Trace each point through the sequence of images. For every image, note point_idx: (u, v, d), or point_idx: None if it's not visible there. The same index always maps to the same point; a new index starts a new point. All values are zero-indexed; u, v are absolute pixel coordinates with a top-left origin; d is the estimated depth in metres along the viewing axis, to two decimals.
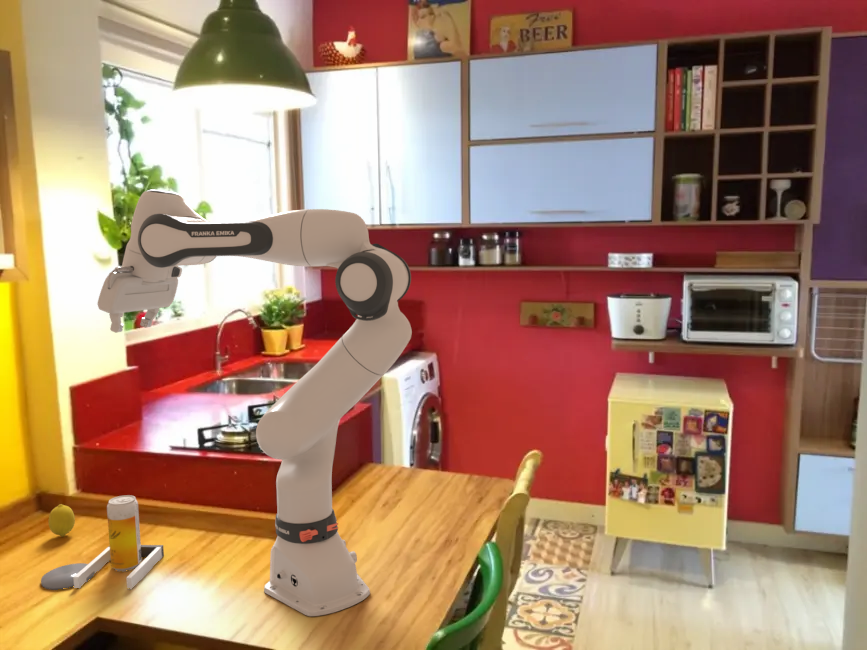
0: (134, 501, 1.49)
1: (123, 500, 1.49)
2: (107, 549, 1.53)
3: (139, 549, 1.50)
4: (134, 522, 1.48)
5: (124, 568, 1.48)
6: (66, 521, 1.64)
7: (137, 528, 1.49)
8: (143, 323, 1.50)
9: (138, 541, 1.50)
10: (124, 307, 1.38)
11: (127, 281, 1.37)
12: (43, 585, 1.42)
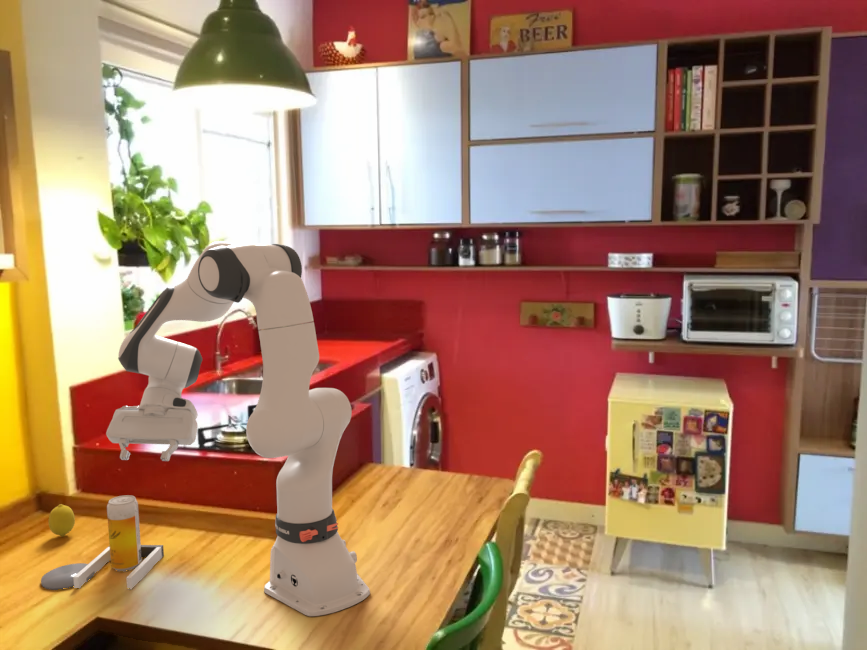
0: (134, 501, 1.49)
1: (123, 500, 1.49)
2: (107, 549, 1.53)
3: (139, 549, 1.50)
4: (134, 522, 1.48)
5: (124, 568, 1.48)
6: (66, 521, 1.64)
7: (137, 528, 1.49)
8: None
9: (138, 541, 1.50)
10: (120, 432, 1.62)
11: (124, 411, 1.66)
12: (43, 585, 1.42)
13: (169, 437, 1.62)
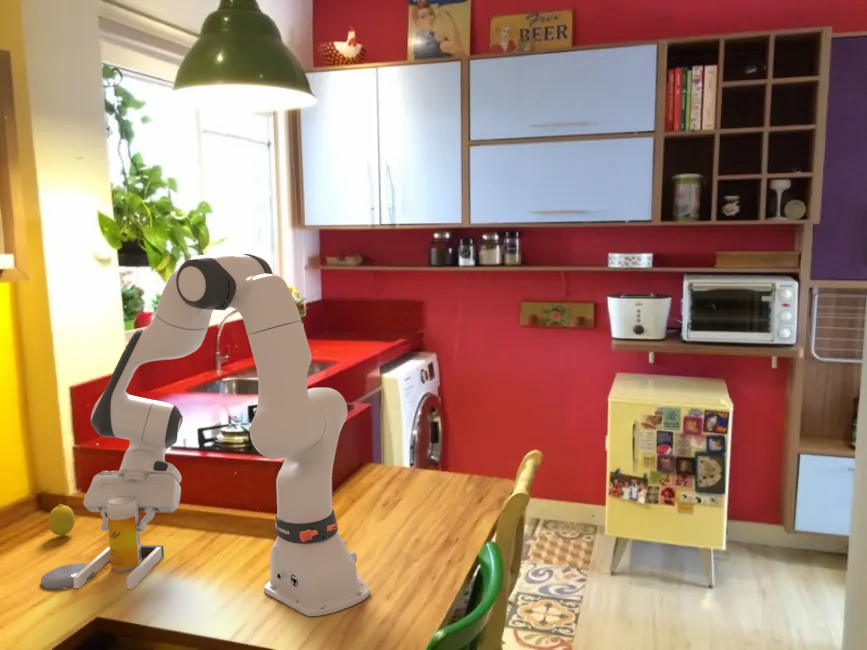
0: (134, 501, 1.49)
1: (123, 500, 1.49)
2: (107, 549, 1.53)
3: (139, 548, 1.50)
4: (134, 522, 1.48)
5: (124, 568, 1.48)
6: (66, 521, 1.64)
7: None
8: None
9: (138, 541, 1.50)
10: (98, 500, 1.52)
11: (103, 477, 1.55)
12: (43, 585, 1.42)
13: (149, 505, 1.51)
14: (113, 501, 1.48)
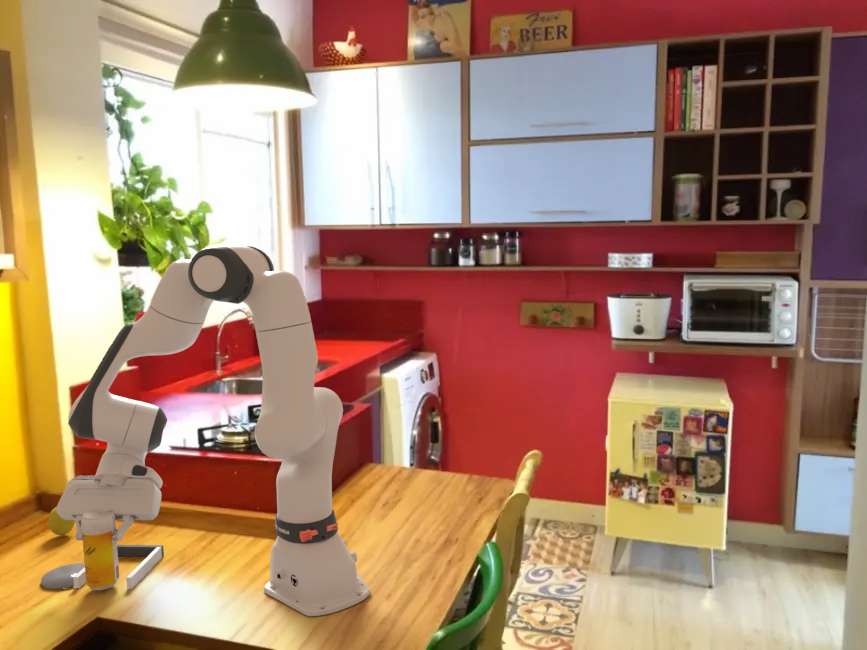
0: (111, 515, 1.39)
1: (99, 514, 1.38)
2: None
3: (116, 565, 1.40)
4: (111, 538, 1.38)
5: (100, 587, 1.38)
6: (66, 521, 1.64)
7: (114, 543, 1.39)
8: None
9: (115, 557, 1.40)
10: (72, 507, 1.41)
11: (78, 482, 1.45)
12: (43, 585, 1.42)
13: (127, 512, 1.40)
14: (88, 515, 1.38)
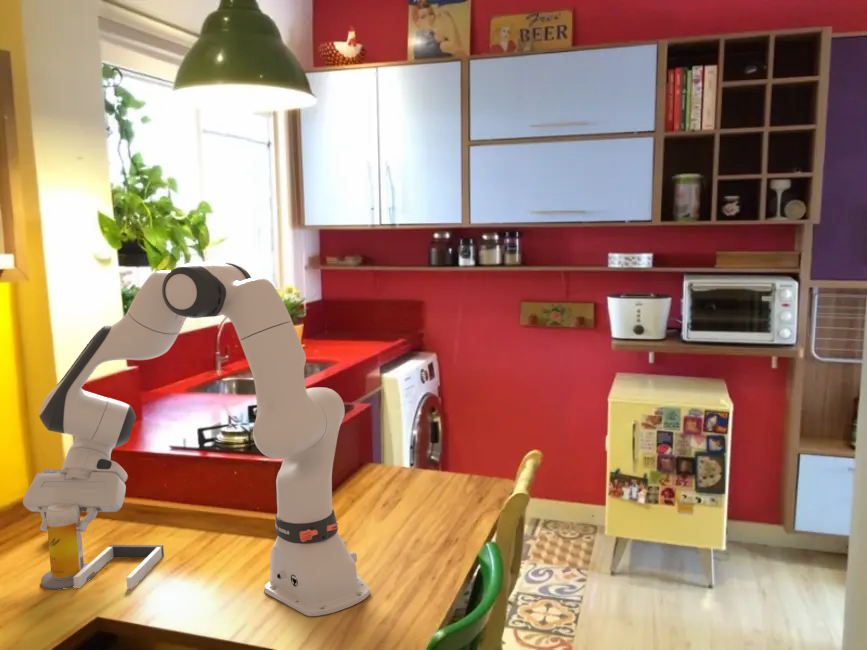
0: (75, 507, 1.44)
1: (64, 506, 1.43)
2: (107, 549, 1.53)
3: (81, 556, 1.45)
4: (75, 529, 1.43)
5: (64, 577, 1.43)
6: None
7: (78, 535, 1.44)
8: None
9: (79, 548, 1.45)
10: (38, 499, 1.46)
11: (45, 475, 1.50)
12: (43, 585, 1.42)
13: (91, 504, 1.45)
14: (53, 507, 1.43)
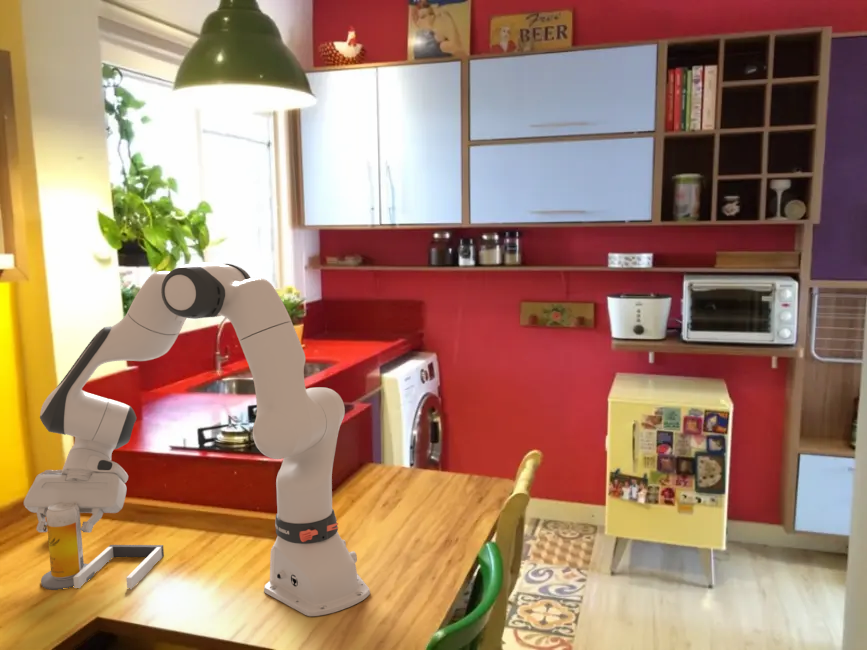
0: (75, 507, 1.44)
1: (64, 506, 1.43)
2: (107, 549, 1.53)
3: (81, 556, 1.45)
4: (75, 529, 1.43)
5: (64, 577, 1.43)
6: None
7: (78, 535, 1.44)
8: None
9: (79, 548, 1.45)
10: (39, 500, 1.46)
11: (45, 476, 1.50)
12: (43, 585, 1.42)
13: (91, 505, 1.45)
14: (53, 507, 1.43)
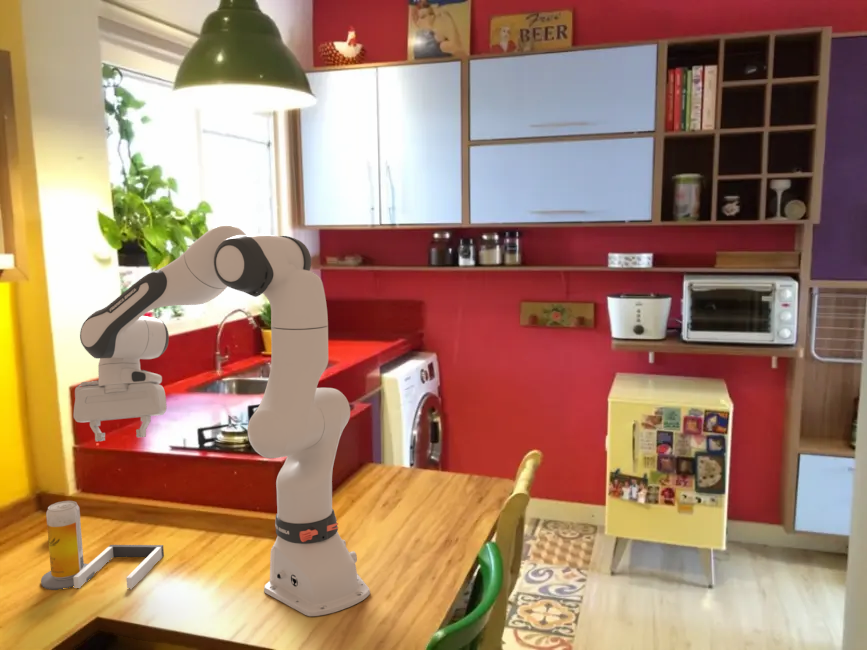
0: (75, 507, 1.44)
1: (64, 506, 1.43)
2: (107, 549, 1.53)
3: (81, 556, 1.45)
4: (75, 529, 1.43)
5: (64, 577, 1.43)
6: None
7: (78, 535, 1.44)
8: None
9: (79, 548, 1.45)
10: (88, 415, 1.57)
11: (85, 391, 1.58)
12: (43, 585, 1.42)
13: (139, 415, 1.56)
14: (53, 507, 1.43)
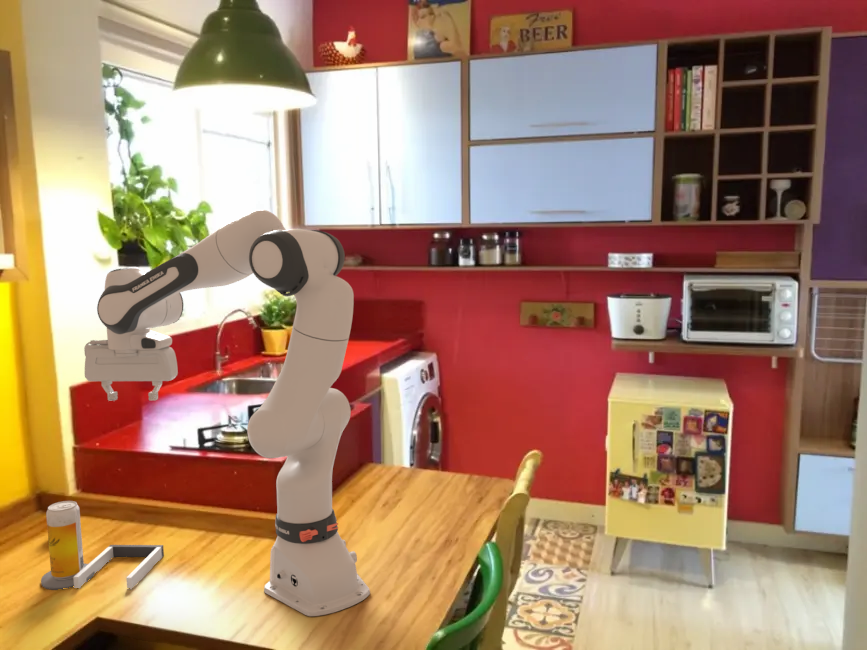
0: (75, 507, 1.44)
1: (64, 506, 1.43)
2: (107, 549, 1.53)
3: (81, 556, 1.45)
4: (75, 529, 1.43)
5: (64, 577, 1.43)
6: None
7: (78, 535, 1.44)
8: None
9: (79, 548, 1.45)
10: (99, 376, 1.56)
11: (94, 351, 1.55)
12: (43, 585, 1.42)
13: (150, 380, 1.56)
14: (53, 507, 1.43)
